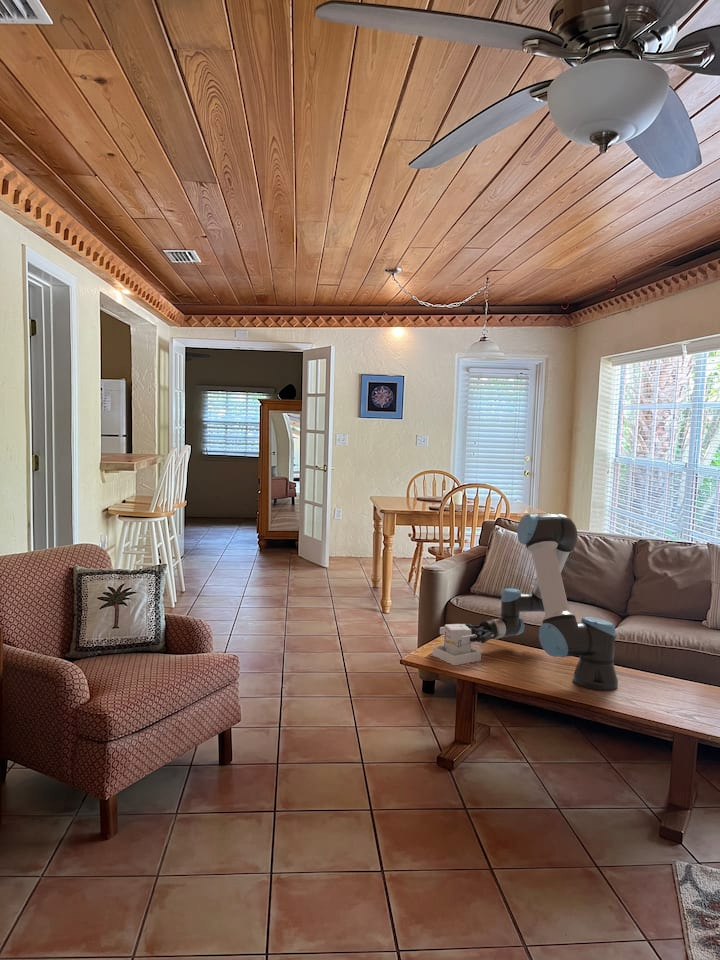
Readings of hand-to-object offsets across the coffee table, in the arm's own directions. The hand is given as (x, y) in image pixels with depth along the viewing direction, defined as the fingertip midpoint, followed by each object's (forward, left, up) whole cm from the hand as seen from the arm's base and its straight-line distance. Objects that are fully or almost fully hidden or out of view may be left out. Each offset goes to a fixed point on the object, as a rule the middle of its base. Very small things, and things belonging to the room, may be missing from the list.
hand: (451, 635), depth 257 cm
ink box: (0, -3, -9) cm, 9 cm away
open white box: (0, -3, -9) cm, 10 cm away
